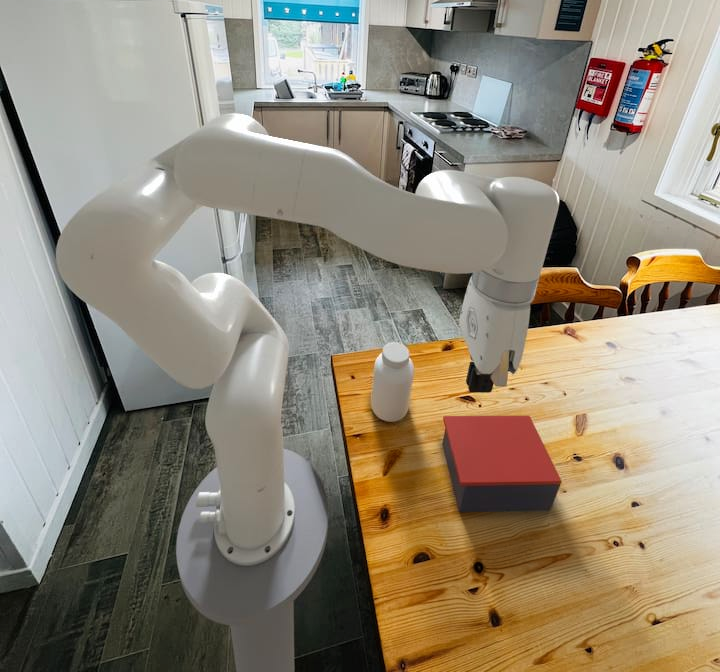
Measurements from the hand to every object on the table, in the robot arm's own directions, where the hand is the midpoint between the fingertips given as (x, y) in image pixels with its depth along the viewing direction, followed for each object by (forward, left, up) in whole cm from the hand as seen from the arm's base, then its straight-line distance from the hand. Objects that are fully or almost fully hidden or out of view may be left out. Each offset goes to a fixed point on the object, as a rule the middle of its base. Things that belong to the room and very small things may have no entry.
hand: (478, 387), depth 55 cm
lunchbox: (+9, +5, -27) cm, 29 cm away
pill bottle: (-8, +19, -27) cm, 34 cm away
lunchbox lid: (+9, +5, -20) cm, 23 cm away
